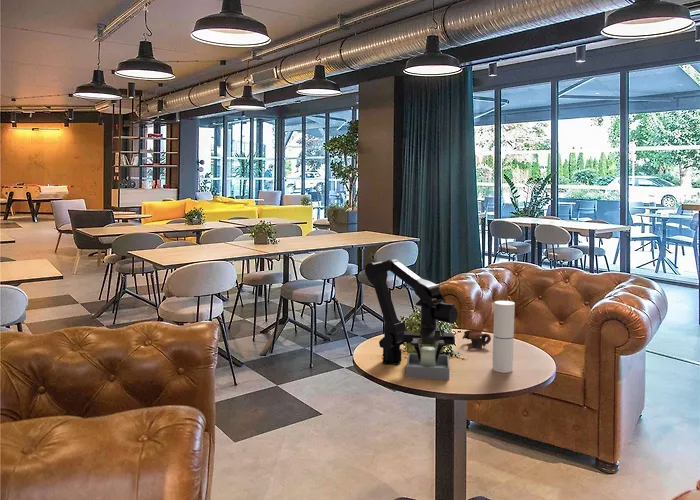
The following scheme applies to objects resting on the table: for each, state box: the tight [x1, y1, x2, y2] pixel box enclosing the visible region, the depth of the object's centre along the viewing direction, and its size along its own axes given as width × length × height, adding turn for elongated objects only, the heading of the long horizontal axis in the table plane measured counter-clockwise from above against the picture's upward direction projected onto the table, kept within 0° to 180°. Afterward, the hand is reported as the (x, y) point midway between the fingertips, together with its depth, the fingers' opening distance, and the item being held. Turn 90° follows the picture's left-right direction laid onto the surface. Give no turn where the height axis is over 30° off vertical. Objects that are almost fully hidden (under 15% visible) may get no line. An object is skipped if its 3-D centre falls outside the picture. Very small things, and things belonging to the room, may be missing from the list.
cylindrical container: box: [491, 300, 516, 374], centre depth 206 cm, size 7×7×25 cm
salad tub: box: [420, 346, 437, 367], centre depth 205 cm, size 6×6×6 cm
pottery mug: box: [461, 329, 492, 350], centre depth 235 cm, size 12×10×8 cm
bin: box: [405, 353, 450, 381], centre depth 205 cm, size 15×15×4 cm
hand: (428, 360), depth 205 cm, fingers closed on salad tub, 5 cm apart
